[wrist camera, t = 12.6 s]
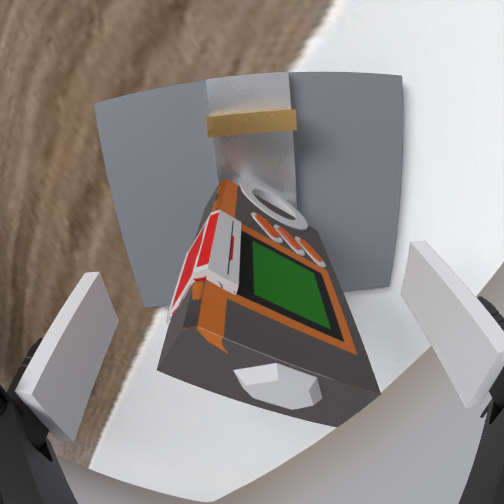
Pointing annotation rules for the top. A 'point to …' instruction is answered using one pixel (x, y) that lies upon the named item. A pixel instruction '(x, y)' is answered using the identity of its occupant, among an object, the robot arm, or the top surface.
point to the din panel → (306, 172)
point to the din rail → (254, 131)
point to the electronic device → (265, 313)
